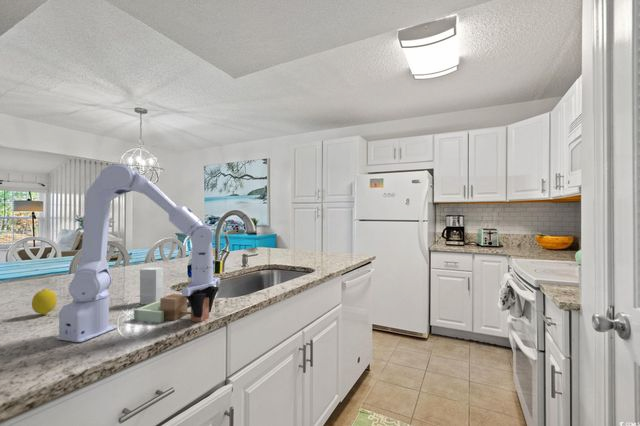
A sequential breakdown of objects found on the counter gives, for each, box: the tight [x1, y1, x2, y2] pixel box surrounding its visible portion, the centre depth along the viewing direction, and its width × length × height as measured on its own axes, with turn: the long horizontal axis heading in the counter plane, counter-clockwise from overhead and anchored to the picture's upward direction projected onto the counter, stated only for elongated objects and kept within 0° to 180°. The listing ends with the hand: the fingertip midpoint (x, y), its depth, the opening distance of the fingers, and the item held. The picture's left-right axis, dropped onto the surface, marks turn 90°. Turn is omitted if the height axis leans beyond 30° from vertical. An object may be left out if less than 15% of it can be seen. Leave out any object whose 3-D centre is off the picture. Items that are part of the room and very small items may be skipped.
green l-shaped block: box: [133, 301, 165, 324], centre depth 87 cm, size 10×9×3 cm
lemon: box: [31, 288, 58, 316], centre depth 88 cm, size 6×6×8 cm
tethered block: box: [160, 293, 210, 323], centre depth 85 cm, size 5×13×6 cm, turn 75°
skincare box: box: [139, 267, 165, 305], centre depth 100 cm, size 6×4×12 cm
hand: (202, 314), depth 83 cm, fingers closed on tethered block, 3 cm apart
